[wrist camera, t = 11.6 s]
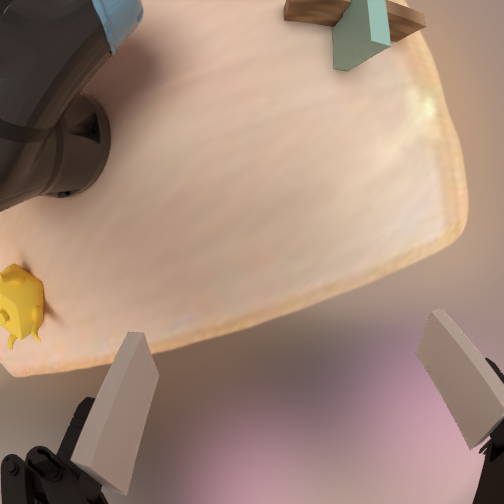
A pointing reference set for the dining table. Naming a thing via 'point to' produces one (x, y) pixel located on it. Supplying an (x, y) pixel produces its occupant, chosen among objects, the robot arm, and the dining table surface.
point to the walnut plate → (334, 3)
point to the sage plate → (360, 33)
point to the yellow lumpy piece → (20, 303)
